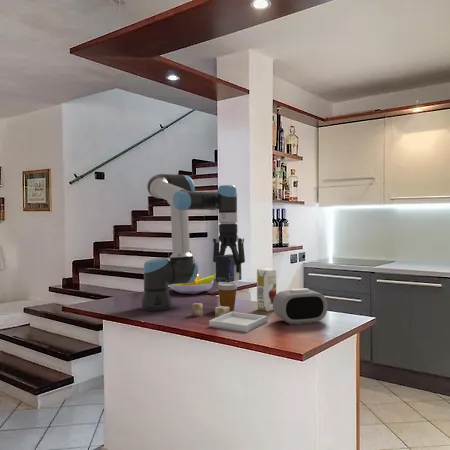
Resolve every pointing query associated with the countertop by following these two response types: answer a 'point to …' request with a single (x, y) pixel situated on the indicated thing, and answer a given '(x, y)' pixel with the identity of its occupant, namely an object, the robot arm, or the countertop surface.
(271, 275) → the juice carton
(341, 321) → the countertop surface
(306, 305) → the alarm clock
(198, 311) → the beech post
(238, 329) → the tray
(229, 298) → the disposable coffee cup
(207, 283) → the fruit bowl
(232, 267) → the small box
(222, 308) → the beech cube
